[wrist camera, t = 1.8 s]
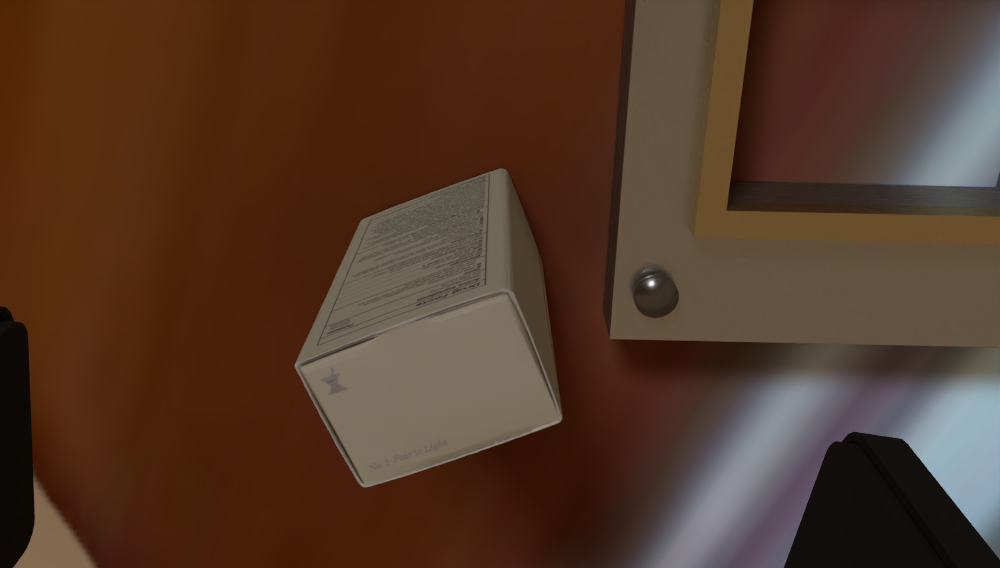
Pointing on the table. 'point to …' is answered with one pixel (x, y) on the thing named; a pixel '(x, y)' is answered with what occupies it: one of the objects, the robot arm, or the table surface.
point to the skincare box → (434, 334)
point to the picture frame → (771, 217)
